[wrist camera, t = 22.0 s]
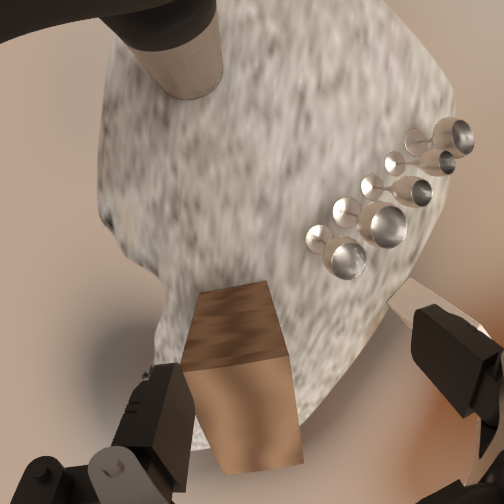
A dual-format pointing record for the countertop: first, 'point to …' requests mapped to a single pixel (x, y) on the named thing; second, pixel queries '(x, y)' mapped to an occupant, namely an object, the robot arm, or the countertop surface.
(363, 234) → the goblet set
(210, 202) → the countertop surface
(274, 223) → the countertop surface
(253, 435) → the open wooden box
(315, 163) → the countertop surface
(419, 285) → the milk
